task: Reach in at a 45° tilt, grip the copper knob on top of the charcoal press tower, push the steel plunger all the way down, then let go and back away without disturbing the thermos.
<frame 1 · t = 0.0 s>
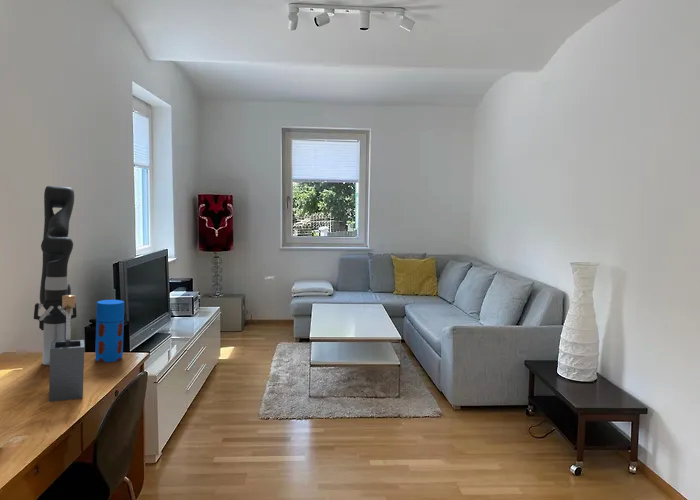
hand: (55, 329, 190), 17 cm above the table, tool pointing down, fingers open, 8 cm apart
plunger: (68, 332, 169), point 22 cm above the table, slide at 8.0 cm
press tower: (66, 394, 170), on the table
thermos: (108, 359, 213), on the table
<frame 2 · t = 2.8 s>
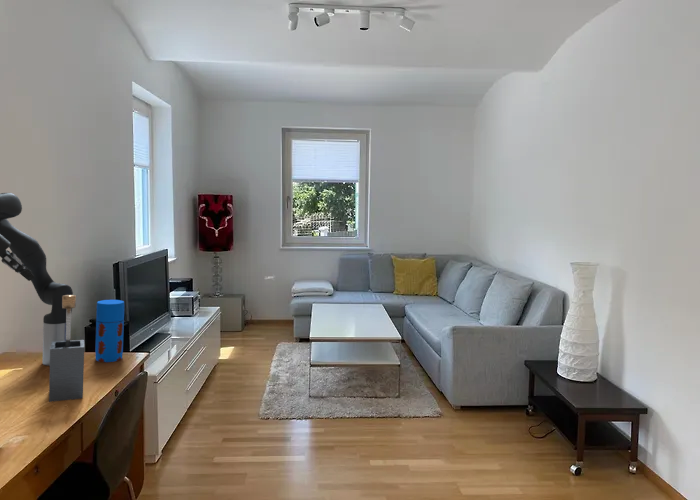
hand: (31, 277, 161), 42 cm above the table, tool tilted 45°, fingers open, 8 cm apart
nothing on the table moved.
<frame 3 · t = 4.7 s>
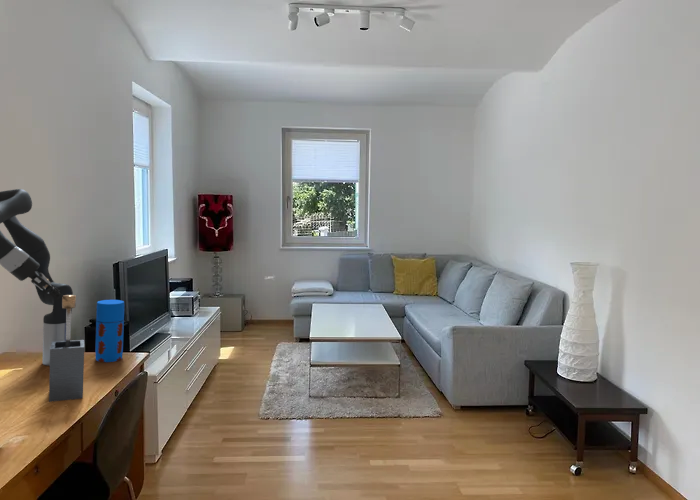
hand: (59, 296, 165), 35 cm above the table, tool tilted 45°, fingers open, 8 cm apart
nothing on the table moved.
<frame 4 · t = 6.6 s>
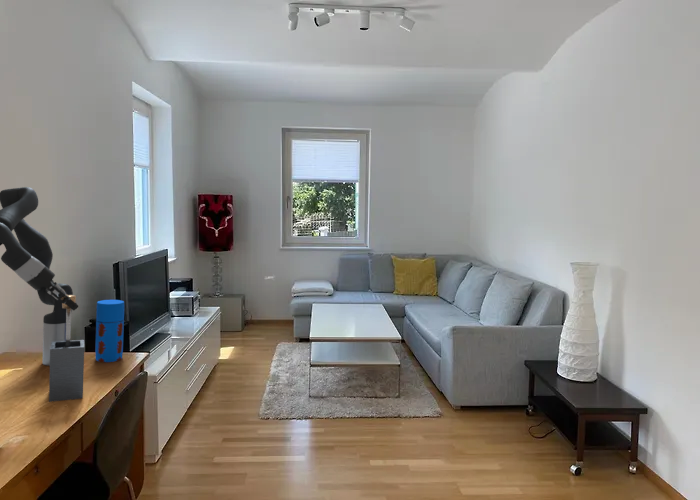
hand: (75, 307, 169), 31 cm above the table, tool tilted 45°, fingers closed on plunger, 4 cm apart
plunger: (68, 332, 169), point 22 cm above the table, slide at 8.0 cm, touching gripper
everything else where it was.
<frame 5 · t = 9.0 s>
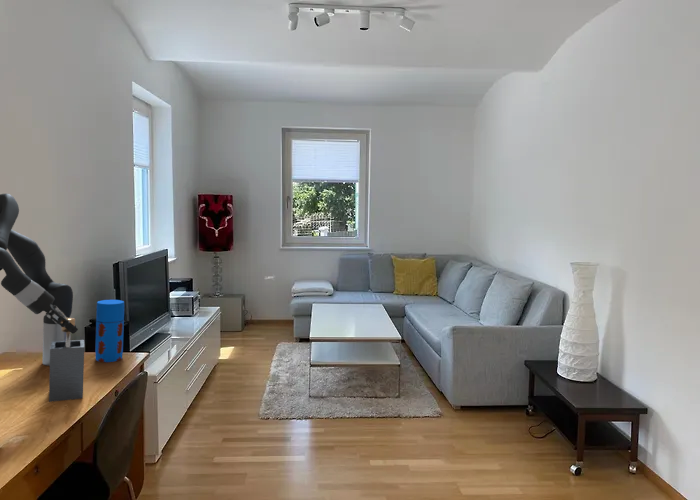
hand: (74, 329, 170), 23 cm above the table, tool tilted 45°, fingers closed on plunger, 4 cm apart
plunger: (67, 355, 169), point 14 cm above the table, slide at -0.1 cm, touching gripper
everything else where it was.
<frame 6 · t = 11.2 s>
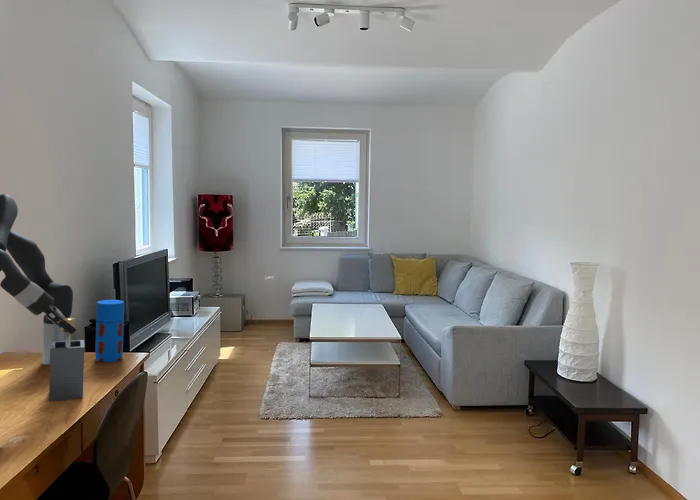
hand: (72, 329, 169), 23 cm above the table, tool tilted 45°, fingers open, 8 cm apart
plunger: (67, 355, 169), point 14 cm above the table, slide at -0.1 cm
everything else where it was.
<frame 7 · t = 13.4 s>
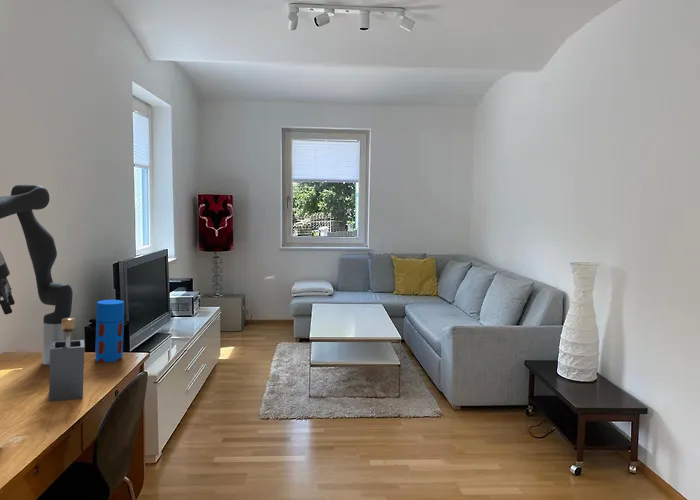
hand: (10, 309, 164), 30 cm above the table, tool tilted 20°, fingers open, 8 cm apart
nothing on the table moved.
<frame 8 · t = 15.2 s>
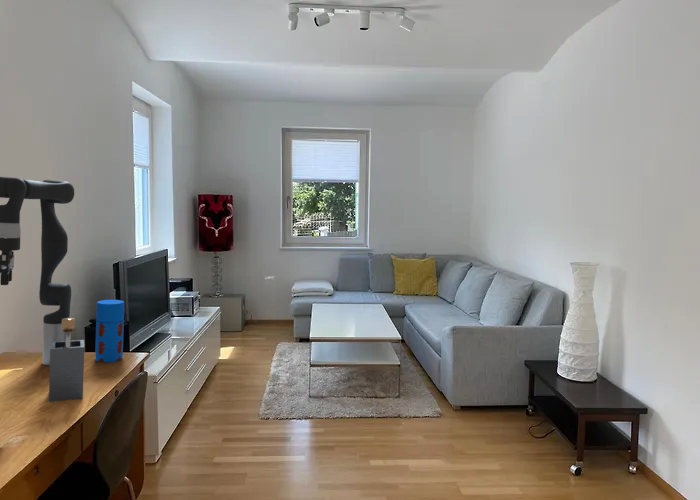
hand: (6, 283, 167), 38 cm above the table, tool pointing down, fingers open, 8 cm apart
nothing on the table moved.
at the end: plunger slide at -0.1 cm; the gripper is holding nothing; thermos moved 0.2 cm from its start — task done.
